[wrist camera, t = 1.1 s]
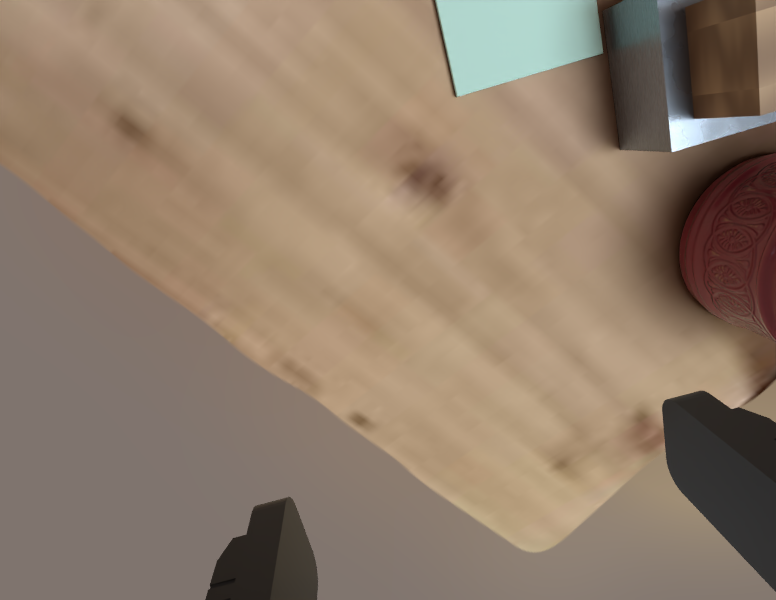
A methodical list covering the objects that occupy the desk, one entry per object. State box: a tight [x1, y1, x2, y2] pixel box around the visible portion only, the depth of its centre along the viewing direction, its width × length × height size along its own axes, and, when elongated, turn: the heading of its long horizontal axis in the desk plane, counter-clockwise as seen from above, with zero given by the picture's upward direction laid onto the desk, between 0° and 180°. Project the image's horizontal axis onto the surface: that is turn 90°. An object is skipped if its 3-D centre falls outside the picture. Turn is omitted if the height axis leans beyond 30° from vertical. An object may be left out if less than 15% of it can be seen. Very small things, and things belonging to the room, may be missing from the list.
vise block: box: [602, 0, 776, 152], centre depth 29 cm, size 9×9×12 cm
